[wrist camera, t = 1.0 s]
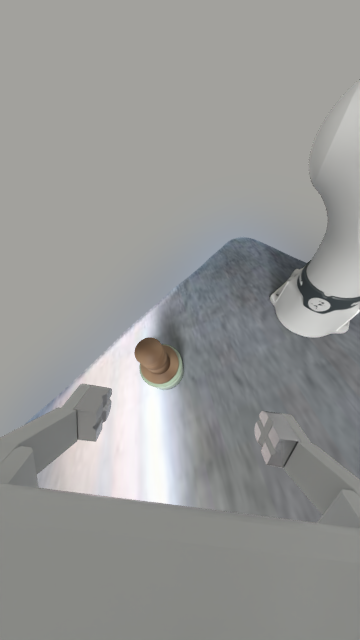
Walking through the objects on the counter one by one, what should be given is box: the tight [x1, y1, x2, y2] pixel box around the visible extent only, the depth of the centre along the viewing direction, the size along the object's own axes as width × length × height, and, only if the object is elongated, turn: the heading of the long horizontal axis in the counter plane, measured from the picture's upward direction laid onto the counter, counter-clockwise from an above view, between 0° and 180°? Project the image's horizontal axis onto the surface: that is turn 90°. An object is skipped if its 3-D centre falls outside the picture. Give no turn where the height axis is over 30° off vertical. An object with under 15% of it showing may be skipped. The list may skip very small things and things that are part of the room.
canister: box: [140, 344, 184, 390], centre depth 42 cm, size 10×10×6 cm
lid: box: [135, 338, 179, 384], centre depth 36 cm, size 8×8×9 cm
